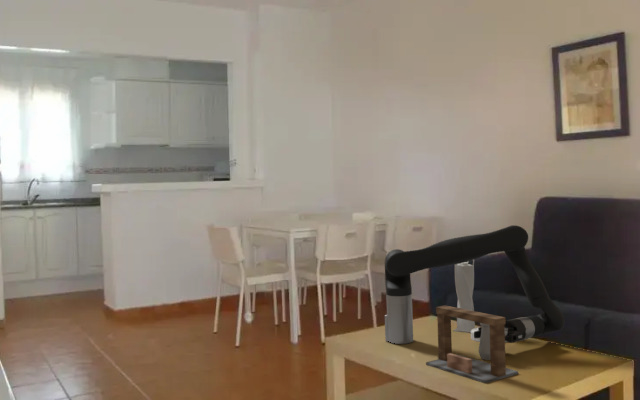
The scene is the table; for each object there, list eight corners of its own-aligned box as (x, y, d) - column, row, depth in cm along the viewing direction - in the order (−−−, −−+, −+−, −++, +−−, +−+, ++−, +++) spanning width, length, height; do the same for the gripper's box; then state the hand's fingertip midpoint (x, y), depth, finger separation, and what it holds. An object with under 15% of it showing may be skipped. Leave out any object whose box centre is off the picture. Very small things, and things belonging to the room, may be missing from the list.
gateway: (426, 364, 215) (424, 309, 214) (457, 356, 222) (456, 303, 222) (485, 383, 194) (484, 322, 193) (518, 373, 202) (516, 314, 201)
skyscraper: (480, 329, 260) (478, 257, 258) (473, 334, 253) (471, 260, 251) (459, 327, 264) (456, 256, 263) (452, 332, 257) (449, 259, 256)
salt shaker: (497, 360, 216) (496, 320, 215) (478, 360, 217) (477, 320, 217) (496, 355, 222) (495, 316, 221) (478, 355, 223) (477, 316, 222)
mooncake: (465, 341, 243) (465, 331, 243) (477, 334, 253) (477, 324, 253) (498, 344, 236) (498, 334, 236) (509, 337, 246) (509, 327, 246)
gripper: (501, 315, 233) (467, 322, 224) (534, 322, 221) (501, 329, 212) (501, 336, 234) (468, 344, 225) (535, 344, 222) (501, 353, 213)
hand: (484, 337), depth 219 cm, fingers open, 8 cm apart
